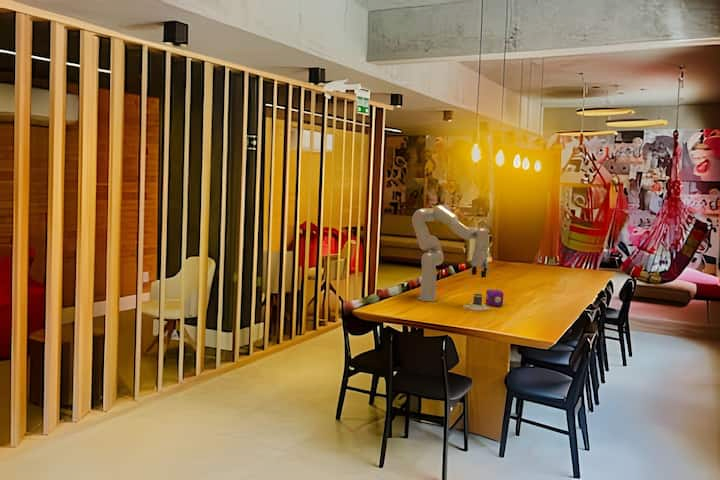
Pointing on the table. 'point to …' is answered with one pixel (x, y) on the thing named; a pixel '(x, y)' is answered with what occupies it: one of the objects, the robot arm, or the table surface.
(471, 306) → the lens mount
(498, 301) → the toy camera
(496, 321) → the table surface
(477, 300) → the lens
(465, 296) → the table surface
